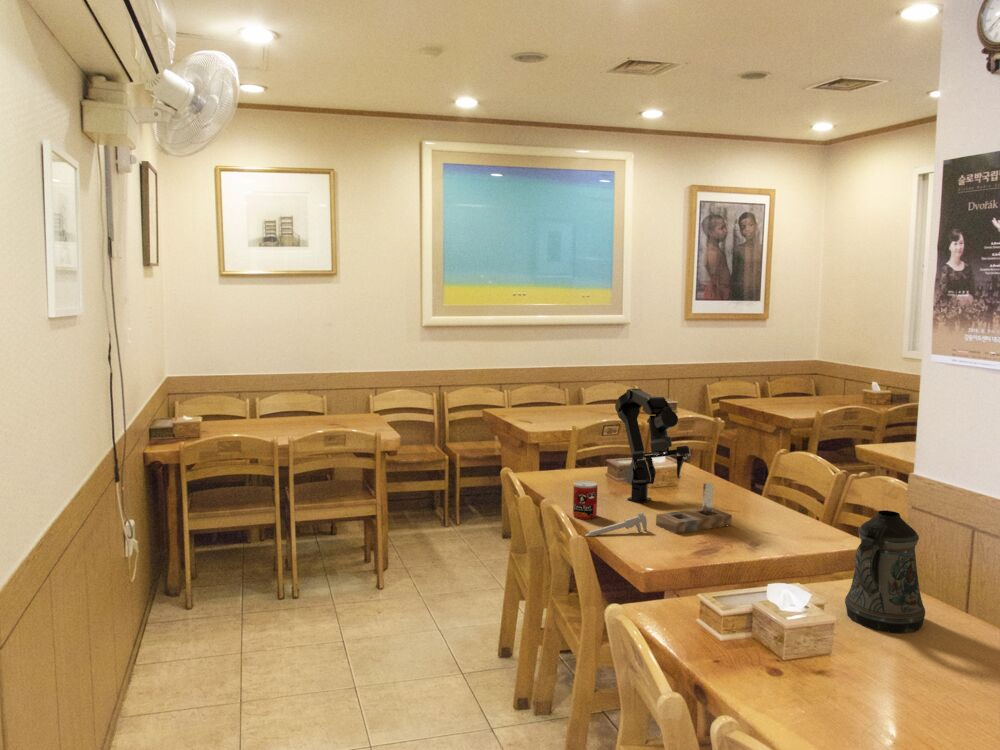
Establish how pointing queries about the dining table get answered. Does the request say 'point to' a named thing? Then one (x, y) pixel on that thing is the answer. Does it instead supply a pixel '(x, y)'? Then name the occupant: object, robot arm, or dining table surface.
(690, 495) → the dining table surface
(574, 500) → the canned food
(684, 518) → the tool block
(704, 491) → the drill rod
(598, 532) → the caliper
